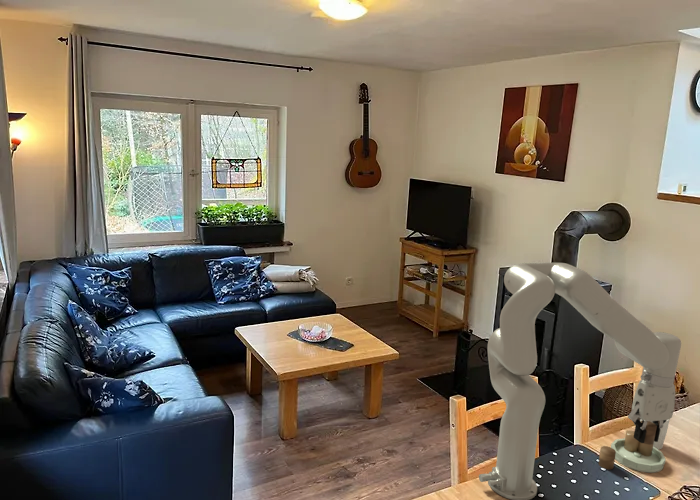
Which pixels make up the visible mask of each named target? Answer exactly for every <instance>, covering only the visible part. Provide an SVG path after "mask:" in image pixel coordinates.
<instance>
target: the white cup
mask: <svg viewBox="0 0 700 500" xmlns="http://www.w3.org/2000/svg"><path fill="white" fill-rule="evenodd" d="M641 421H642V419H640V422H641ZM670 421H671V420H670V419H668V420H667V421H666V422H665V423H664V424H663V427H662V428H660V434H659V439H658V442H655V441H654V444H653V446H654V447H655V448H656V449H658V450H660V449H663V446H664V443H665V440H666V436H667V432H668V429H669V428H668V427H669V424H670ZM650 422H652V421H650Z"/></svg>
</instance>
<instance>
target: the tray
mask: <svg viewBox="0 0 700 500" xmlns="http://www.w3.org/2000/svg"><path fill="white" fill-rule="evenodd" d="M634 432H635V430H626V431H625V436H624V438H617V439H614V441H612V442H611V444H610V447H611V448H613V449H614V450H615V451H616V454H615V461H617V462H618V463H620V464H621V465H622V466H625V467H626V468H628V469H631V470H633V471H636V472H642V473H647V474H648V473H659V472H661V471H662V470H663V469H664V466H665V464H666V457H665V455H664V453H663V452H662V451H661V450H660V449H656V448H655V447H654V446H653V444H654V443H653V444H651V445H649V444H644V443H640V442H639V441H638V440H636V439H635V438H634Z"/></svg>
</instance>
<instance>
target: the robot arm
mask: <svg viewBox="0 0 700 500" xmlns="http://www.w3.org/2000/svg"><path fill="white" fill-rule="evenodd" d="M503 283H504V286H505V289H506V290H507V291H508V292H510V293H511V294H512V295H511V296H510V297H509V299H508V300H507V301H506V303H505V304H504V306H503V308H502V309H501V310H500V315H499V328H496V329H495V330H494V331H493V332H491V334H490V336H489V338H488V340H487V341H488V342H487V350H486V351H487V359H488V369H489V370H488V371H489V376H490V382H491V386H492V388H493V389H494V391H495V392H496V393H497V394H498V396H500V398H501V399H502V401H503V402H504V403H505V405H506V407H505V410H504V412H503V414H502V416H501V420H500V426H499V435H498V436H499V437H498V443H497V444H498V446H497V453H496V463H495V466H493V467H492V468H491V469H492V470H491V471H489V472H488V473H479V475H478V480H479V482H480V483H484V482H487V484H488V486H489V487H490V488H491V489H492V491H494V492H495V493H496V494H498V495H500V496H501V497H503V498H505V499H509V500H532V499H533V498H535V496H537V493H538V485H537V483H536V481H535V480H534V479H533V477H534V475H533V474H534V469H535V468H534V467H535V459H536V452H537V443H538V442H537V441H538V432H539V427H540V422H541V417H542V415H543V412H544V409H545V405H546V395H545V392H544V390H543V388H542V387H541V385H540V384H539V383H538V382H537V381H536V380H535V379H534V378H533V377H531V374H533V372H534V371H535V369H536V367H537V363H538V353H537V352H538V351H537V341H536V325H535V324H536V320H537V317H538V315H539V314H540V312H541V311H543V309H544V308H545V307H547V306H548V304H550V303H551V301H552V300H553V298H554V296H555V294H556V295H559V296H560V297H562V298H563V299H564V300H566V302H567V303H569V304H570V305H571V306H572V307H573V309H574V308H575V310H576V311H577V312H578V313H579V314H581V316H583V318H584V319H585V320H587V322H588V323H590V325H591V326H593V327H594V328H595V329H597V331H600V332H601V333H602V334H603V335H605V336H607V337H609V338H610V339H611V340H613V341H614V345H615V348H616V350H618V352H619V353H620V354H622V355H623V356H625V357H626V358H628V359H629V360H631V361H633V362H634V363H636V364H638V365H640V366H641V367H642V373H641V375H640V380H639V382H638V383H637V387H636V389H635V393H634V397H633V400H632V405H631V411H630V412H629V414H628V415H627V418H628V419H629V420H630V421H632V422H633V424H634V431H635V432H634V438H635V439H636V440H638V441H639V442H640V443H644V441H645V436H646V430H645V427H646V425H647V422H648V421H652V422H653V423H654V424H656V425H657V429H656V434H655V438H654V441H655V442H658V439H659V434H660V428H662V427H663V424H664V423H665V422H666V421H667V420H668V419H672V418H673V415H674V411H675V403H676V385H675V384H674V383H675V377H676V373H677V369H678V363H679V358H680V352H681V348H682V340H681V339H680V337H678V336H676V335H674V334H673V333H667V332H661V331H655V332H653V331H652V330H650V329H649V327H647V326H646V325H645V324H644V323H643V322H641V321H640V320H639V319H637V317H635V316H634V315H633V314H632V313H631V312H629V311H628V309H626V307H624V306H622V305H621V304H620V303H618V301H617V300H615V298H614V297H613V296H612V295H611V294H609V293H608V291H607V290H606V289H605V288H603V286H601V284H600V283H599V282H598V281H597V280H596V279H595V278H594V277H593V276H591V274H589V273H588V271H585V270H584V269H582V268H579V267H576V266H574V265H572V264H569V263H565V262H529V263H527V262H526V263H525V262H524V263H517V264H514V265H511V266H510V267H509V268H508V269H507V270H506V272H505V274H504V277H503ZM640 419H642V420H643V421H642V423H641V422H640Z"/></svg>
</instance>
